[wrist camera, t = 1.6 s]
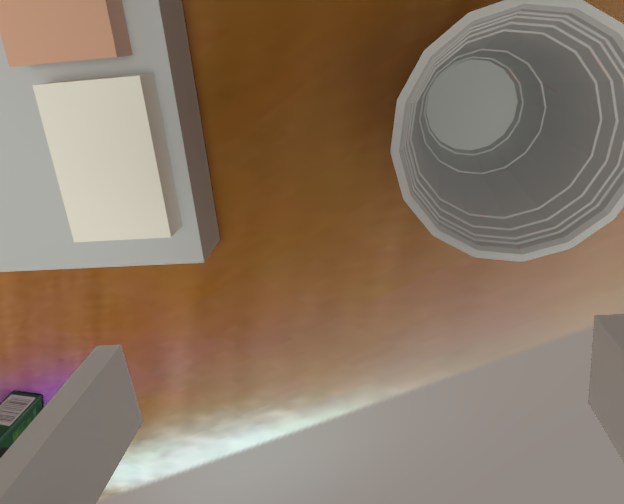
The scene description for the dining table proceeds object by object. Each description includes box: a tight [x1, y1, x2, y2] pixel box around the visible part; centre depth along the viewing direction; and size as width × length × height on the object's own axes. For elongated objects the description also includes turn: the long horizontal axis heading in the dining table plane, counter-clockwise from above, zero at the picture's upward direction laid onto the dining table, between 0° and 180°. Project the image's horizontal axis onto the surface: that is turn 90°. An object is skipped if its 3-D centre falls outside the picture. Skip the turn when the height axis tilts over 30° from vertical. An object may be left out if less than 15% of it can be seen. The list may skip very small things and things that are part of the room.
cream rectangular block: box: [32, 73, 182, 242], centre depth 31 cm, size 9×6×2 cm, turn 5°
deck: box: [0, 0, 220, 272], centre depth 33 cm, size 22×14×4 cm, turn 5°
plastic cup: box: [390, 0, 624, 262], centre depth 28 cm, size 11×11×12 cm
